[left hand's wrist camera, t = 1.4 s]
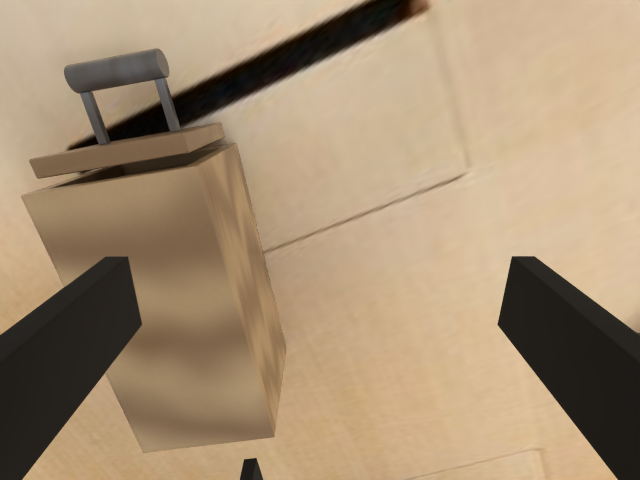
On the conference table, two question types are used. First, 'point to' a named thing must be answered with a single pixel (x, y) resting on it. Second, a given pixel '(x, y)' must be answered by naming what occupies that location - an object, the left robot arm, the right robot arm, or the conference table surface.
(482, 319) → the conference table surface
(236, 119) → the conference table surface
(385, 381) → the conference table surface
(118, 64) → the drawer
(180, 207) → the cabinet
